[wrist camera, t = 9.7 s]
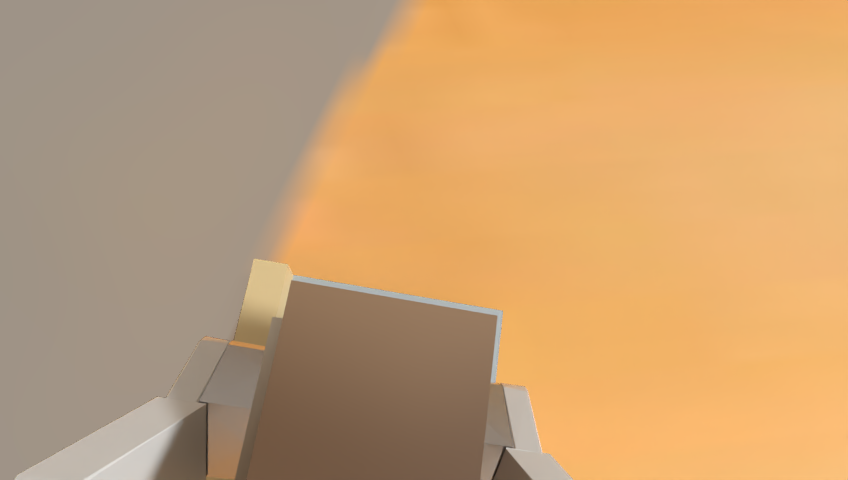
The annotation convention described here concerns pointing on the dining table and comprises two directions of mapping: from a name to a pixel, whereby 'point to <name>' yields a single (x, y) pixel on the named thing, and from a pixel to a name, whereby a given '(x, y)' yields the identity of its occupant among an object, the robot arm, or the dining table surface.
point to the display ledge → (275, 279)
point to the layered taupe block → (369, 390)
